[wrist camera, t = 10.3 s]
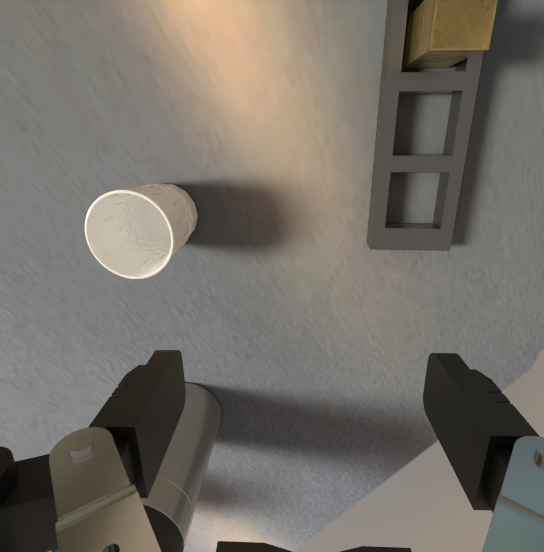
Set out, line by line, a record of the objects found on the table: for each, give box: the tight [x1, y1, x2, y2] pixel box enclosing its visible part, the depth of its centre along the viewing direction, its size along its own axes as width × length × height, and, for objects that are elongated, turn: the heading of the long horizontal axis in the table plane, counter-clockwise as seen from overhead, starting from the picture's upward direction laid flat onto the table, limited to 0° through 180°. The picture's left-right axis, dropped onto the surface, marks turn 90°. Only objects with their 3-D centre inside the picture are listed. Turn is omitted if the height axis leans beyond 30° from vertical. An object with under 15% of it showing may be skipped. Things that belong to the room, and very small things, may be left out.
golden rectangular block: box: [403, 0, 498, 68], centre depth 30 cm, size 4×4×8 cm
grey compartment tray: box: [367, 0, 484, 251], centre depth 35 cm, size 24×8×2 cm, turn 0°
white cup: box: [85, 183, 198, 279], centre depth 37 cm, size 8×8×10 cm
